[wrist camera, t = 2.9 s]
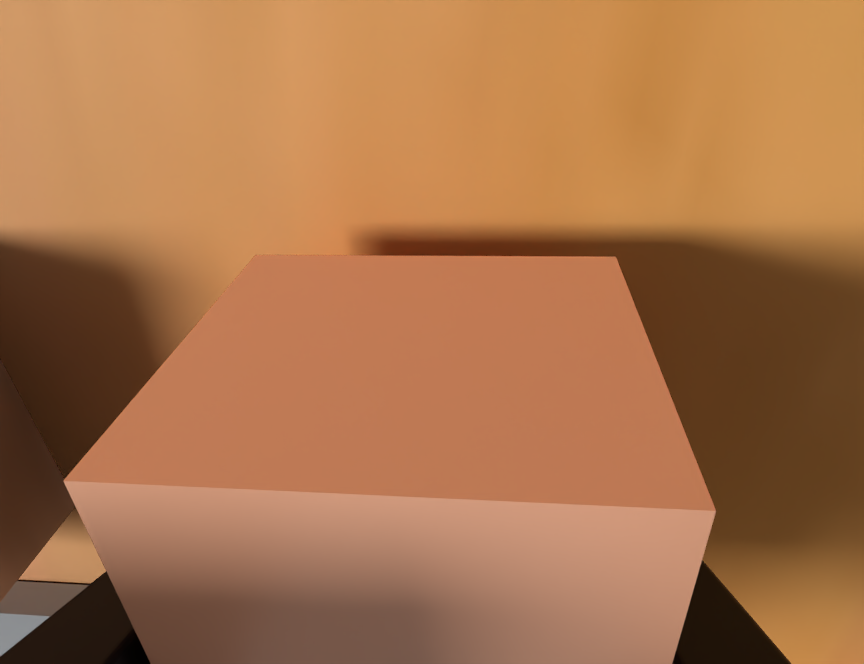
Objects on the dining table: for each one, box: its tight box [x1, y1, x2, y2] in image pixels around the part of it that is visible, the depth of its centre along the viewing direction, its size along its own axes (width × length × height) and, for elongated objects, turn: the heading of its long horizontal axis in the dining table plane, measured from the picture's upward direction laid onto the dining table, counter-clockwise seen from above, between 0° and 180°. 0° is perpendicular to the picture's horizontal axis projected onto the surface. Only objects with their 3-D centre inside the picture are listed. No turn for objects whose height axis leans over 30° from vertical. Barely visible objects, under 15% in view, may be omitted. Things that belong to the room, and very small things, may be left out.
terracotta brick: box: [63, 255, 716, 664], centre depth 7 cm, size 6×4×4 cm
